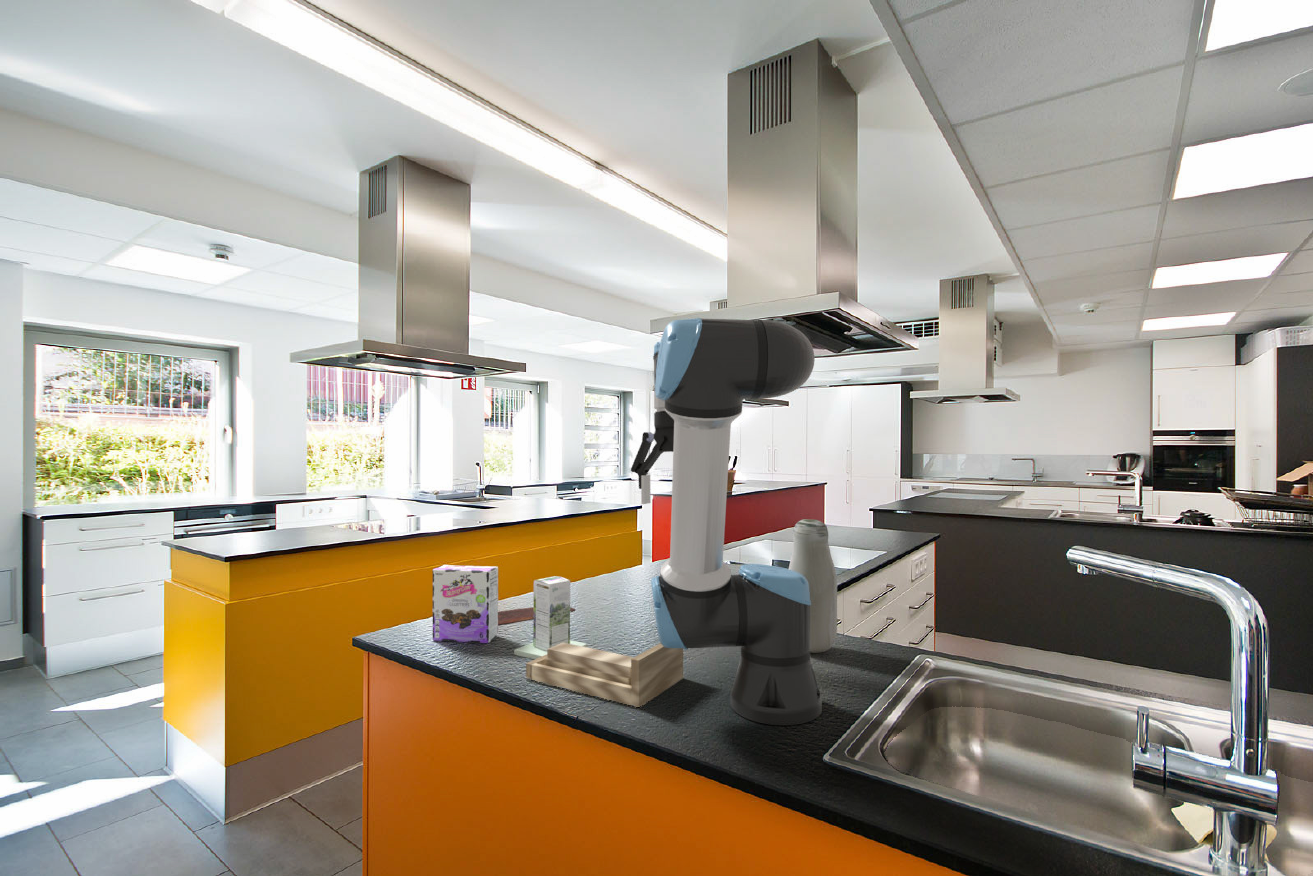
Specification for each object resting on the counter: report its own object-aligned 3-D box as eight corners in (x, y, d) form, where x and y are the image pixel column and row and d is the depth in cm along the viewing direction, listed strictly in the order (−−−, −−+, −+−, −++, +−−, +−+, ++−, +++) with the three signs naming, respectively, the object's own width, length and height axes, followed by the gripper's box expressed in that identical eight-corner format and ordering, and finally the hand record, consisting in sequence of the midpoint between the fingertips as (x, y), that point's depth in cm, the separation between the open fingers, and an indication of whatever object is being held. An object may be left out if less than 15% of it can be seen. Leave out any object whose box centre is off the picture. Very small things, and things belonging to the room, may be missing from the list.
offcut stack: (646, 693, 111) (646, 659, 111) (632, 702, 107) (632, 667, 107) (561, 672, 121) (561, 642, 121) (545, 680, 117) (545, 648, 117)
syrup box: (554, 640, 137) (553, 575, 137) (571, 646, 133) (570, 578, 133) (532, 647, 133) (532, 579, 133) (549, 653, 129) (549, 583, 129)
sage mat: (587, 648, 135) (587, 643, 135) (554, 663, 125) (554, 659, 125) (548, 640, 140) (548, 636, 140) (514, 654, 131) (514, 649, 131)
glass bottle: (843, 648, 134) (841, 518, 134) (827, 662, 125) (825, 523, 125) (799, 640, 139) (798, 515, 139) (781, 653, 131) (780, 520, 131)
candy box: (431, 641, 140) (430, 568, 141) (444, 633, 146) (443, 563, 146) (488, 644, 138) (487, 570, 138) (499, 636, 144) (498, 565, 144)
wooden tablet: (563, 600, 173) (579, 603, 165) (564, 608, 173) (579, 612, 164) (468, 615, 159) (479, 620, 150) (468, 624, 158) (480, 629, 150)
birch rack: (683, 678, 117) (682, 635, 117) (638, 708, 104) (638, 660, 104) (577, 655, 130) (577, 617, 131) (526, 679, 117) (525, 637, 117)
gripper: (728, 409, 136) (729, 505, 136) (633, 412, 149) (634, 501, 149) (713, 407, 129) (714, 509, 129) (615, 411, 142) (616, 503, 142)
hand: (671, 505), depth 139 cm, fingers open, 13 cm apart
